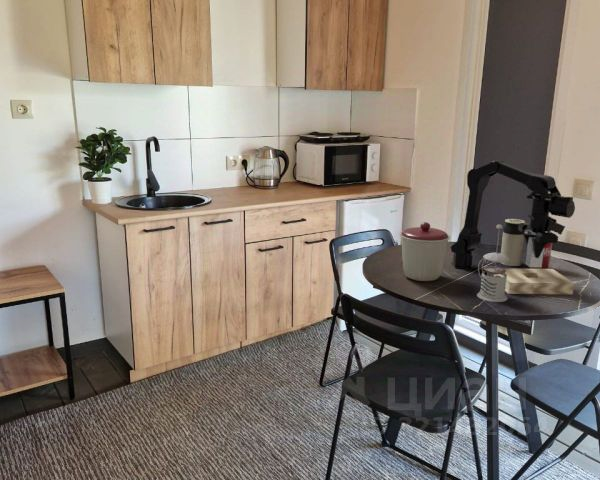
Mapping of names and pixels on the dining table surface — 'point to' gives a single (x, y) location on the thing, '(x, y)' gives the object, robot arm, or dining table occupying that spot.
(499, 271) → the french press
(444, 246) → the canister
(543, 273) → the hole block
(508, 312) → the dining table surface
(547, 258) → the soda can
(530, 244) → the steel peg
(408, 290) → the dining table surface
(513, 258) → the travel mug
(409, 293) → the dining table surface
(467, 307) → the dining table surface
